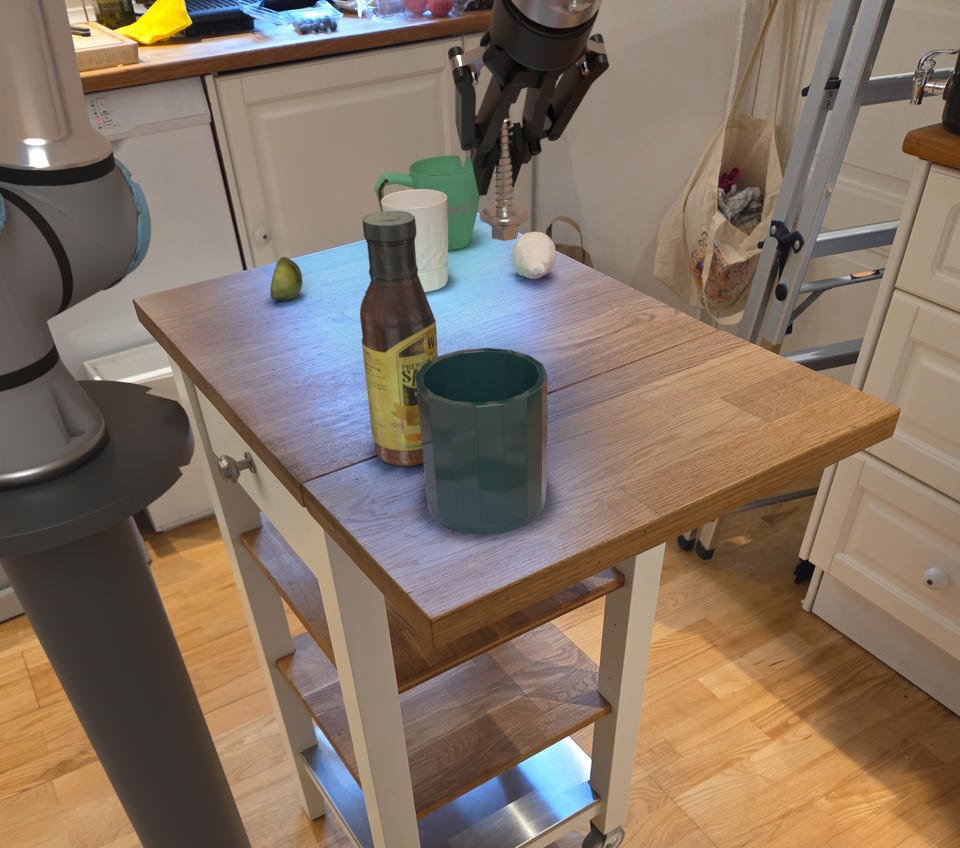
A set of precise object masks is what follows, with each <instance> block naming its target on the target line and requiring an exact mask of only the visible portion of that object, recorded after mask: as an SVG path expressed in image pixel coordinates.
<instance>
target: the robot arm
mask: <svg viewBox="0 0 960 848" xmlns="http://www.w3.org/2000/svg"><path fill="white" fill-rule="evenodd" d="M602 3H603V0H493V4H492V10H491V15H490V23H489V26H488V28H487V30H486V31H485V32H484V33H483V34H482V36H481V38H480V40H479V45H478V46H477V47H474V48H473V49H471V50H468V51H466V52H465V51H464V49H463V48H462V47H461V46H460V45H455V46H452V47H451V48H449V49H448V50H447V57H448V61H449V67H450V69H451V76H452V78H453V84H454V87H455V88H454V90H455V91H454V96H455V97H454V100H455V101H454V102H455V104H454V105H455V106H454V109H455V113H454V115H455V118H454V120H455V122H454V123H455V126H456V130H457V131H456V132H457V135H458V140H459V144H460V149H461V150H462V151H465V152H467V151H469V157H470V158H471V162H472V167H473V171H474V175H475V180H476V184H477V189H478V193H479V196H480V197H483V196H487V195H488V191H489V189H490V185H491V182H492V178H493V175H494V172H495V170H496V167H495V165H496V162H497V159H498V155H499V151H498V147H497V142H496V139H497V137H498V134H499V132H500V130H501V127H502V125H503V123H504V120H505V118H506V116H507V113H508V111H509V108H510V109H511V106H512V105H513V104H515V105H516V103H517V101H518V99H519V96H520V94H521V91H522V90H523V89H526V93H525V98H524V103H523V109H522V115H521V122H520V121H519V122H512V123H513V124H514V126H513V127H512V131H513V132H514V133H513V134H512V138H513V139H514V141H513V142H512V145H513V146H514V148H513V149H512V152H513V153H514V155H513V156H512V159H513V160H514V163H512V166H513V167H514V170H513V171H512V173H513V174H514V177H513V178H512V180H513V181H514V184H513V185H512V187H513V188H514V189H515V185H516V183H517V181H518V177H519V173H520V171H521V169H522V165H526V164H529V163H530V161H532V158H533V157H535V156H538V155H540V154H541V153H542V151H543V149H542V145H541V141H542V140H544V139H547V141H549V142H556V141H558V140H559V139H560V138H561V137H562V135H563V133H564V131H565V130H566V128H567V127H568V125H569V123H570V122H571V120H572V119H573V116H574V115H575V113H576V112H577V110H578V108H579V107H580V105H581V103H582V101H583V100H584V98H585V97H586V95H587V93H588V92H589V90H590V88H591V86H592V85H593V84H594V82H595V81H597V80H598V79H599V78H600V77H601V76H602V75H603V74H604V73H605V72H606V71H607V70H608V69H609V68H610V62H609V58H608V54H607V50H606V45H605V42H604V38H603V34H601V33H595V34H593V35H592V34H591V33H592V30H593V29H594V25H595V22H596V20H597V17H598V14H599V11H600V8H601V6H602ZM74 44H75V43H74V38H73V33H72V28H71V24H70V18H69V14H68V9H67V4H66V0H0V491H9V490H17V489H23V488H28V487H32V486H36V485H40V484H44V483H47V482H50V481H53V480H56V479H58V478H61V477H63V476H66V475H68V474H70V473H72V472H74V471H76V470H78V469H80V468H81V467H83V466H84V465H86V464H87V463H89V462H90V461H92V460H93V459H94V458H95V457H96V456H97V455H98V454H100V452H101V451H102V450H103V449H104V447H105V446H106V444H107V442H108V438H109V433H108V429H107V427H106V424H105V421H104V418H103V416H102V413H101V412H100V410H99V409H98V408H97V406H96V405H95V404H94V402H93V401H92V400H91V399H90V397H89V396H88V395H87V393H86V392H85V391H84V390H83V388H82V387H81V386H80V384H79V383H78V382H77V381H78V380H77V379H76V378H75V376H73V374H72V373H71V371H70V370H69V369H68V368H67V366H66V365H65V364H64V362H63V360H62V358H61V355H60V352H59V351H58V348H57V345H56V343H55V340H54V336H53V334H52V332H51V329H50V326H49V323H48V321H49V320H51V319H53V318H54V317H56V316H58V315H60V314H62V313H64V312H66V311H68V310H69V309H71V308H73V307H74V306H76V305H78V304H80V303H82V302H83V301H85V300H87V299H89V298H91V297H93V296H95V295H96V294H98V293H100V292H101V291H107V290H109V289H111V288H114V287H115V286H117V285H119V284H120V283H121V282H122V281H123V280H124V279H126V277H127V276H128V275H130V274H131V273H133V272H134V271H135V270H136V269H137V268H138V267H140V265H141V264H142V263H143V261H144V260H145V257H146V255H147V253H148V251H149V247H150V244H151V239H152V238H151V236H152V220H151V214H150V209H149V205H148V202H147V198H146V197H145V193H144V192H143V189H142V187H141V185H140V184H139V183H137V182H135V181H133V180H132V173H131V171H130V169H129V168H128V167H127V166H126V165H125V164H124V163H123V162H122V161H121V160H119V159H118V158H117V157H115V156H114V150H113V145H112V142H111V141H110V140H109V139H108V138H107V137H106V136H105V135H104V134H102V133H101V132H100V131H99V130H97V129H96V128H95V127H94V126H93V125H92V123H91V122H90V118H89V113H88V108H87V103H86V97H85V92H84V88H83V83H82V78H81V73H80V67H79V63H78V58H77V53H76V48H75V45H74ZM483 67H486V68H487V69H488V71H489V72H490V73H491V77H490V80H489V83H488V85H487V88H486V90H485V93H484V96H483V99H482V101H481V103H480V107H479V109H478V111H477V112H476V109H477V108H476V107H477V93H476V86H478V85H479V78H480V76H481V70H482V69H483ZM476 113H477V114H476ZM521 124H522V125H521Z"/></svg>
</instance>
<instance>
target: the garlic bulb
mask: <svg viewBox="0 0 960 848" xmlns="http://www.w3.org/2000/svg"><path fill="white" fill-rule="evenodd" d="M516 240H517V241H516V242H515V244H514V245H513V248H512V251H511V258H512V262H513V266H514V269H515V270H516V271H517V273H518V275H520V276H521V277H526V278H528V279H531V280H537V279H540V278H543V277H544V276H546V275H547V274H548V273H550V271H551V270H552V269H553V267H554V266H555V264H556V257H557V253H556V246H555V244H554V242H553V240H552V238H551V237H550V236H549V235H547V234H546V233H544V232H542V231H529V232H526V233H524V234H523V235H521V236H520V237H519V238H517V239H516Z"/></svg>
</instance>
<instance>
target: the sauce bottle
mask: <svg viewBox="0 0 960 848" xmlns="http://www.w3.org/2000/svg"><path fill="white" fill-rule="evenodd" d="M362 230H363V237H364V240H365V241H366V244H367V253H368V256H367V257H368V263H369V264H368V265H369V269H368V275H369V278H370V282H369V285H368V286H367V289H366V290H365V293H364V294H365V295H364V296H363V298H362V300H361V304H360V309H359V319H360V328H361V334H362V335H361V336H362V338H361V347H362V356H363V365H364V374H365V383H366V391H367V399H368V400H367V401H368V402H367V403H368V411H369V419H370V428H371V437H372V440H373V441H374V447H375V453H376V456H377V457H378V458H379V460H380V461H381V462H384V463H386V464H388V465H392V466H397V467H412V466H418V465H421V464H423V455H422V445H421V435H420V424H419V414H418V403H417V393H416V382H415V376H416V374H417V373H418V372H419V370H420V369H421V367H422V366H423V365H424V364H426V363H428V362H430V361H431V360H433V359H435V358H437V357H438V356H439V354H438V352H439V351H438V333H437V320H436V318H435V316H434V313H433V311H432V307H431V306H430V303H429V301H428V298H427V295H426V292H424V290H423V287H422V285H421V282H420V279H419V277H418V268H417V265H416V253H415V237H416V233H417V232H416V223H415V217H414V216H413V215H412V214H410V213H408V212H404V211H384V212H381V211H378V212H373V213H370V214H367V215H365V216H364V217H363V218H362Z"/></svg>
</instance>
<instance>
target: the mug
mask: <svg viewBox="0 0 960 848" xmlns="http://www.w3.org/2000/svg"><path fill="white" fill-rule="evenodd" d="M408 170H409V174H406V173H401V172H400V173H399V172H385V173H382V174H381V175H380V176H379V179H378V180H377V181H376V182H375V184H374V186H373V188H374V191H375V195H376V199H377V202H378V207H379V210H380V212H383V211H382V204H381V200H382V198H383V197H385V194H384V193H385V192H384V190H385V187H386V186H391V185H399V186H403V187H407V188H412V189H429V190H436V191H440V192H443V193H445V194H446V195H447V213H448V251H456V250H460V249H464V248H466V247H468V246H469V244H470V241H471V237H472V235H473V232H474V228H475V223H476V220H477V216H478V211H479V206H480V197H481V196H479V193H478V189H477V184H476V180H475V175H474V171H473V167H472V162H471V158H470V155H469V156H468V155H467V156H466V158H465V160H464V165H463V166H462V161H461V159H460V157H459V155H457V154H453V155H452V154H451V155H448V154H447V155H437V156H430V157H426V158H422V159H419V160H415V161H413V162H412V163H411V164H410V165H409V168H408Z"/></svg>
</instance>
